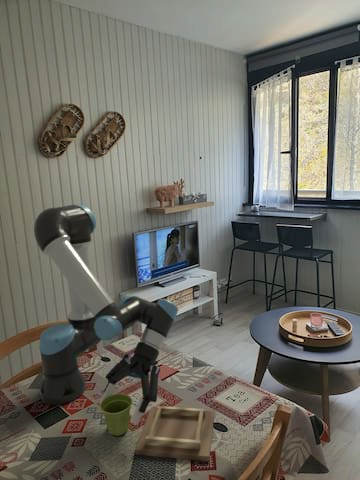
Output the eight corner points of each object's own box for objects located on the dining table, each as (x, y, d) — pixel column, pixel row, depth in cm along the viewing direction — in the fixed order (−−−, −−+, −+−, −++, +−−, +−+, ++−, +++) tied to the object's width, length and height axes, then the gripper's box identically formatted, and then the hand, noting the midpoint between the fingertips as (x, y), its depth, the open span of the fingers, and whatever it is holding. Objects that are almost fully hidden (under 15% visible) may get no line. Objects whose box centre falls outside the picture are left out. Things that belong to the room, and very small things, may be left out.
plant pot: (106, 444, 100) (103, 417, 99) (99, 424, 109) (97, 398, 107) (138, 434, 104) (136, 407, 102) (129, 414, 113) (127, 390, 111)
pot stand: (135, 454, 96) (134, 443, 96) (151, 411, 114) (151, 401, 113) (209, 461, 93) (208, 449, 92) (214, 415, 110) (214, 405, 110)
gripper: (185, 361, 108) (155, 434, 99) (129, 340, 123) (98, 401, 115) (173, 352, 103) (140, 428, 94) (116, 332, 118) (83, 395, 110)
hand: (117, 414), depth 105 cm, fingers open, 13 cm apart
